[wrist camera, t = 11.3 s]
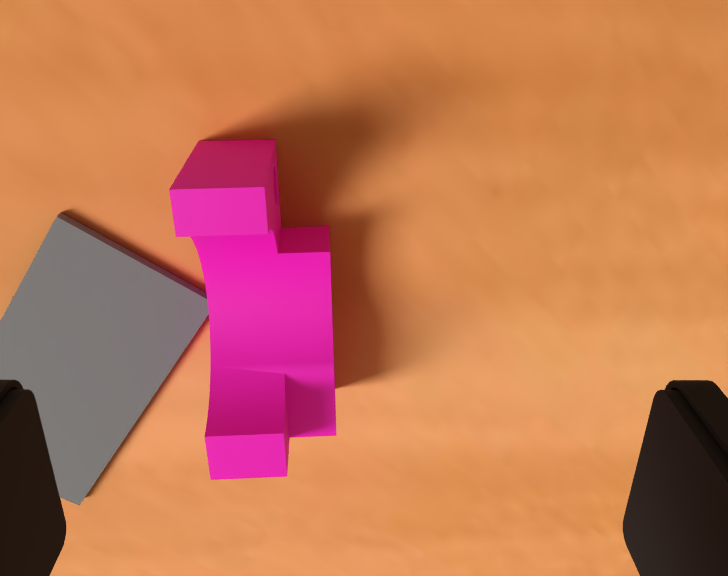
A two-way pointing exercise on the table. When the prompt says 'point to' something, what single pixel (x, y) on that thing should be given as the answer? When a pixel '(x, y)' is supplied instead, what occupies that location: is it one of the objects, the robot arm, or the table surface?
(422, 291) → the table surface
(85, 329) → the felt pad
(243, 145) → the toy block
